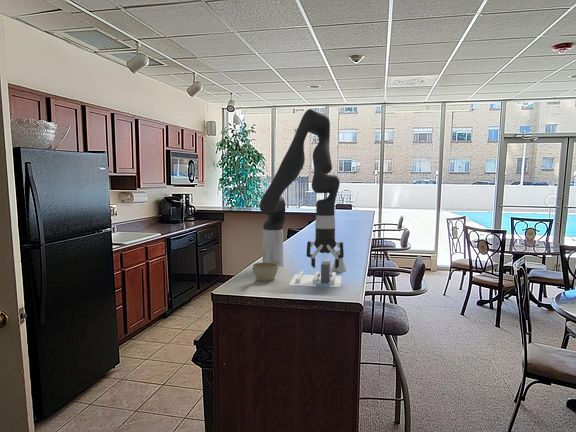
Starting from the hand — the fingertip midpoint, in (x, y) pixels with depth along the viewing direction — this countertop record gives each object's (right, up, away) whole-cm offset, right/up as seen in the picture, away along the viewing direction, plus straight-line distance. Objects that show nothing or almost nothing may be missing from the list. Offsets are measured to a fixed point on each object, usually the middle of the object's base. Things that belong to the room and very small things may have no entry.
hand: (325, 268), depth 153 cm
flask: (+7, -5, +16) cm, 18 cm away
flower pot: (-23, -6, +2) cm, 24 cm away
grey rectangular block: (0, -5, 0) cm, 5 cm away
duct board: (-3, -6, 0) cm, 7 cm away
